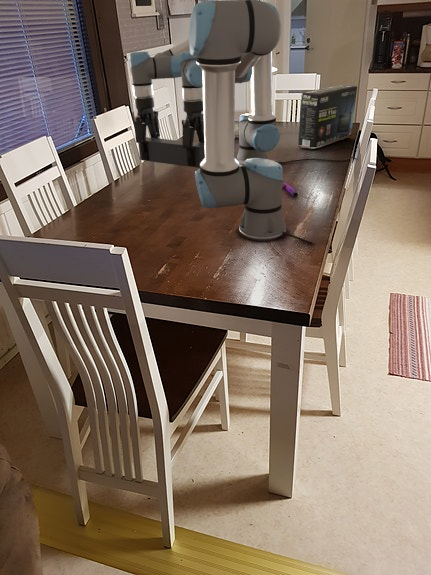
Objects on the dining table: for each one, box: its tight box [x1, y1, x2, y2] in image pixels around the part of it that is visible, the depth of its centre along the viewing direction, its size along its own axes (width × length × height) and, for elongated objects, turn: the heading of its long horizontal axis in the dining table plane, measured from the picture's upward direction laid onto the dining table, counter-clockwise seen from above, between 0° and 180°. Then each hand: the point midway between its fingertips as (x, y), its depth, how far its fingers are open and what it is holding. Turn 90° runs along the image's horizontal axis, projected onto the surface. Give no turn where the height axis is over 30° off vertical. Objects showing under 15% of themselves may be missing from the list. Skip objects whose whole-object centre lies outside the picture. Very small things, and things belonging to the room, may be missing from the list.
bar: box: [137, 136, 205, 169], centre depth 181 cm, size 29×5×8 cm, turn 60°
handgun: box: [282, 179, 299, 198], centre depth 183 cm, size 21×8×2 cm, turn 11°
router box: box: [297, 84, 358, 151], centre depth 238 cm, size 36×11×27 cm, turn 134°
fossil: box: [234, 122, 239, 140], centre depth 266 cm, size 18×11×15 cm
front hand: (196, 162), depth 177 cm, fingers open, 7 cm apart
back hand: (150, 157), depth 188 cm, fingers closed on bar, 5 cm apart
